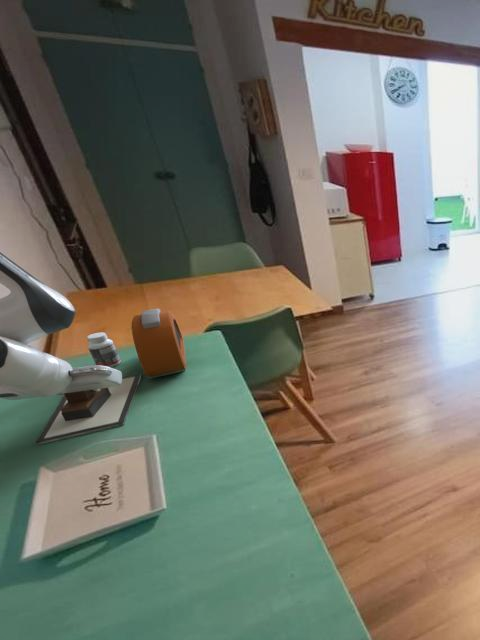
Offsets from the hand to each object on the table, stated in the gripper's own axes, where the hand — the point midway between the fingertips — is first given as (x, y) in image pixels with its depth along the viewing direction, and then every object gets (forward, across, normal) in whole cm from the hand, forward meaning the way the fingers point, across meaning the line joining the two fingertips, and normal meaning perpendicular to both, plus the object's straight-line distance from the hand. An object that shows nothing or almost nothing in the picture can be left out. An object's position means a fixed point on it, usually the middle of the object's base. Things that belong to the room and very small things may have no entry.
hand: (83, 390), depth 103 cm
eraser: (+3, 0, +4) cm, 5 cm away
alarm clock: (+18, -10, -11) cm, 24 cm away
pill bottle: (+21, +5, -14) cm, 26 cm away
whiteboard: (+4, 0, +3) cm, 5 cm away
